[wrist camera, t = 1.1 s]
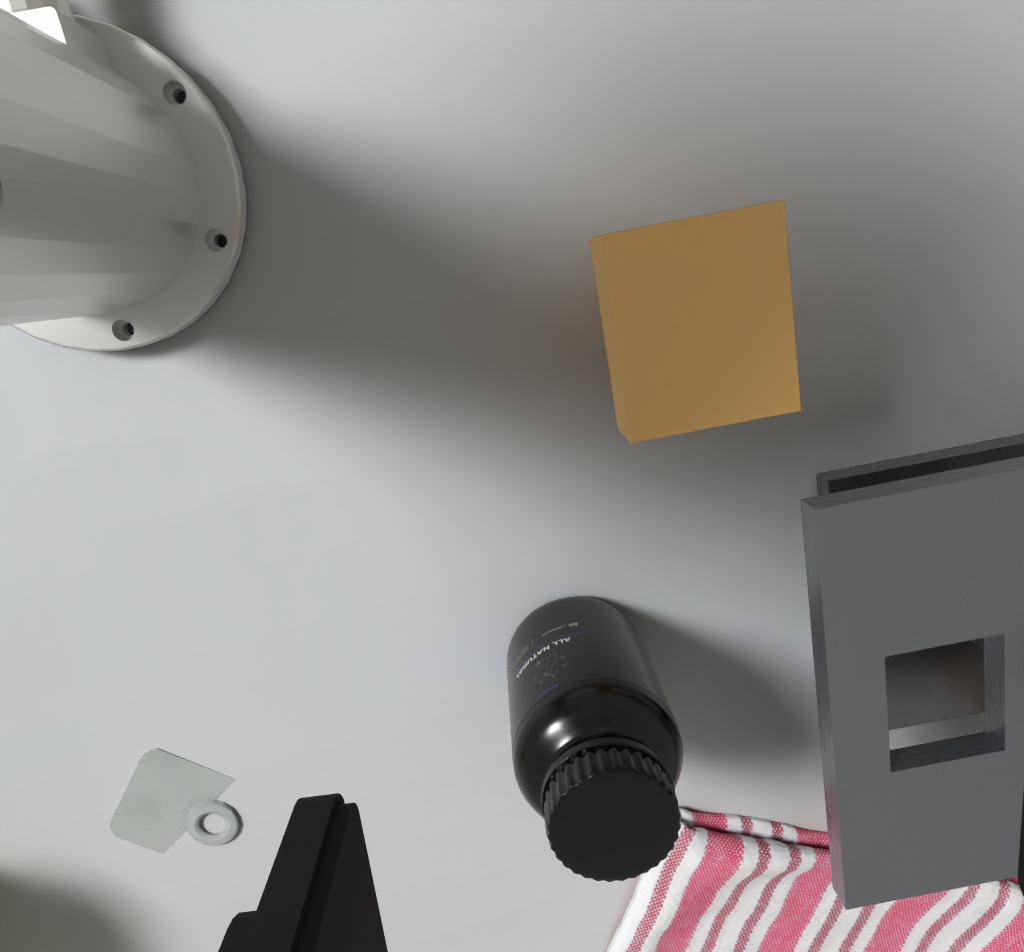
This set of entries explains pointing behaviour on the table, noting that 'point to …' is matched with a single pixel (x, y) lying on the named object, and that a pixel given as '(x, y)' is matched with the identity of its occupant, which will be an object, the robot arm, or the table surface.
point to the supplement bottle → (593, 739)
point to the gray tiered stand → (920, 666)
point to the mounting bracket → (172, 803)
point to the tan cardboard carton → (698, 321)
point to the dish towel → (796, 900)
